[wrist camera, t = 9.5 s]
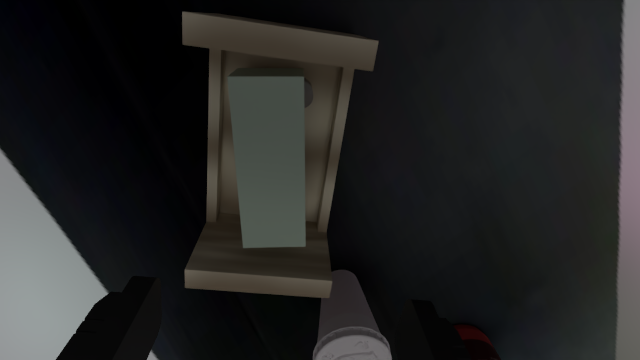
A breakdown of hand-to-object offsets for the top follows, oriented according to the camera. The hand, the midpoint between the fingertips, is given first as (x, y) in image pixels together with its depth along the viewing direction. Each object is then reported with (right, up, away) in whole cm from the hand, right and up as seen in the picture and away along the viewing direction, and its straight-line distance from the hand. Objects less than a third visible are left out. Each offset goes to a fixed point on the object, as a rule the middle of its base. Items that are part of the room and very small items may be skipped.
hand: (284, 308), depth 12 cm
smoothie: (+3, -7, +26) cm, 27 cm away
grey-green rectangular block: (-2, +6, +16) cm, 17 cm away
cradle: (-3, +8, +19) cm, 21 cm away
